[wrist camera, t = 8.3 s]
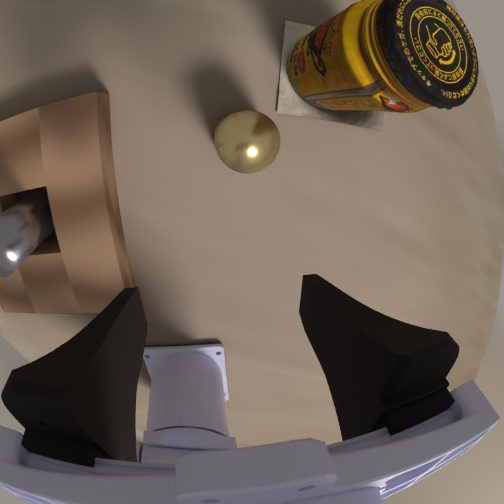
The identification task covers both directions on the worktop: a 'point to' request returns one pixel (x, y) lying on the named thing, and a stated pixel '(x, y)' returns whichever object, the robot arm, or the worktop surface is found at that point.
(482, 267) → the worktop surface
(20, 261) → the grey cylinder
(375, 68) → the condiment
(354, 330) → the robot arm
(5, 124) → the hole block
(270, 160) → the short stub
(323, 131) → the worktop surface
